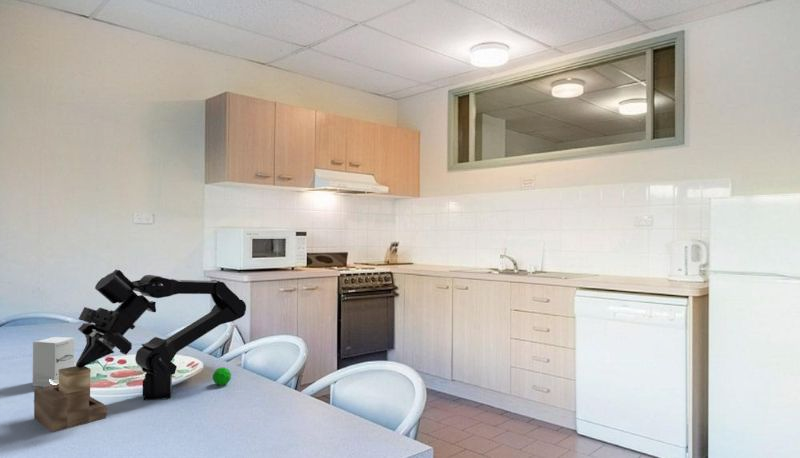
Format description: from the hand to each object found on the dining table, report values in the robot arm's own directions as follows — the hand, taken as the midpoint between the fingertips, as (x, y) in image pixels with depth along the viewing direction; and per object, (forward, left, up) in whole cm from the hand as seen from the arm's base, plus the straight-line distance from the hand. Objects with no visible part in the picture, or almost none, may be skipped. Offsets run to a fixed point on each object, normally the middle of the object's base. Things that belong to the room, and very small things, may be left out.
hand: (77, 366), depth 126 cm
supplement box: (+14, -31, -12) cm, 36 cm away
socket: (+1, 0, -12) cm, 12 cm away
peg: (+1, 0, -7) cm, 7 cm away
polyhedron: (-32, -17, -12) cm, 38 cm away
